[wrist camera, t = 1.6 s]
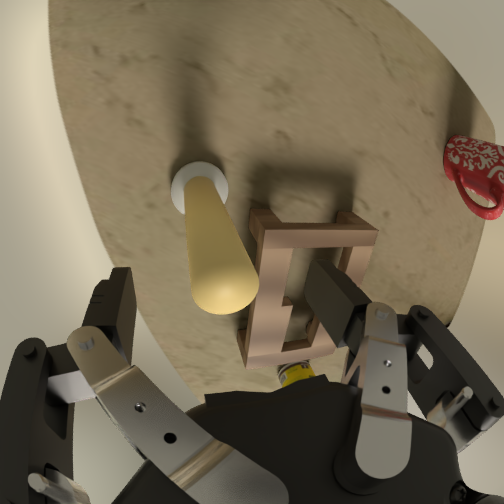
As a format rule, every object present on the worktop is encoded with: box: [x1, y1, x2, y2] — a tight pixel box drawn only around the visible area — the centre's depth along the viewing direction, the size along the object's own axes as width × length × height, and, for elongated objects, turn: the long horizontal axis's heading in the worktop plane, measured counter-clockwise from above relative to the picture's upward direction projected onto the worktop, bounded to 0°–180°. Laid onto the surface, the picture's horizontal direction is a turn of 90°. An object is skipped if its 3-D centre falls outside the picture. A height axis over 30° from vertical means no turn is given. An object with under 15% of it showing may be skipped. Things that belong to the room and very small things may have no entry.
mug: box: [444, 135, 504, 220], centre depth 24 cm, size 13×9×14 cm
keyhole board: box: [237, 209, 379, 370], centre depth 30 cm, size 18×12×5 cm, turn 174°
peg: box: [171, 161, 259, 314], centre depth 17 cm, size 5×5×15 cm
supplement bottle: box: [278, 361, 315, 388], centre depth 37 cm, size 6×6×10 cm
